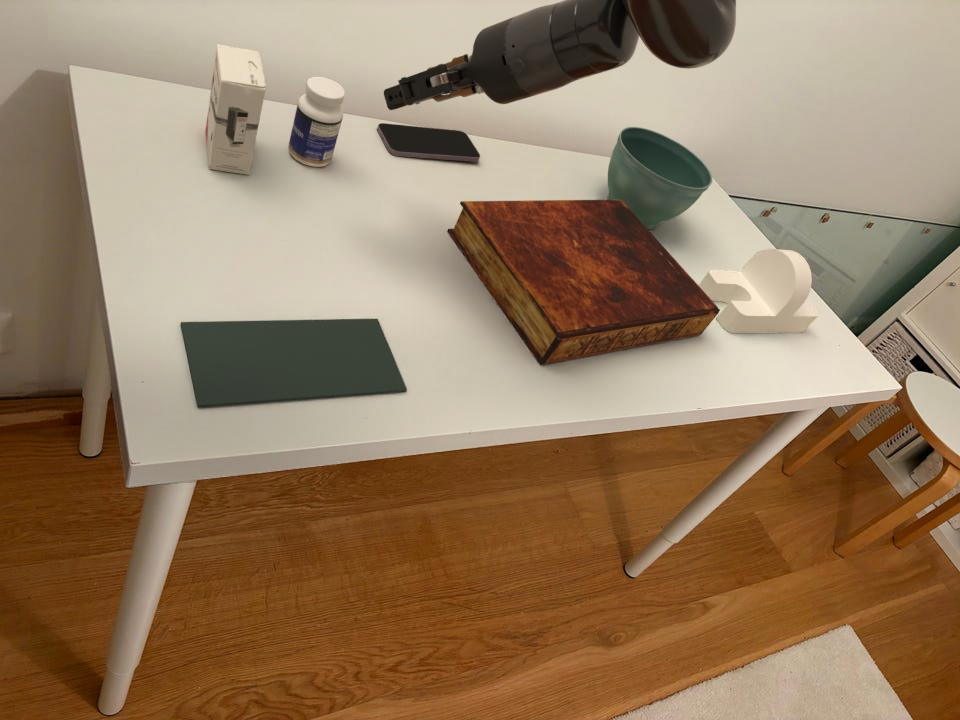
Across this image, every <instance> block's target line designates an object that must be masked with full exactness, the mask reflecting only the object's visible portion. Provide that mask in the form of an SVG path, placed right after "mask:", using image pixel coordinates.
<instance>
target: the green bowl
mask: <svg viewBox="0 0 960 720" xmlns="http://www.w3.org/2000/svg"><path fill="white" fill-rule="evenodd" d="M712 184H713V175H712V172H711V171H710V169H709V168H708V166H707V165H706V164H705V163H704V161H703V160H701V158H700V157H698V155H696V154H695V153H694V152H693V151H691V150H690V149H689V148H687V147H686V146H684V145H683V144H681V143H679V142H678V141H676V140H674V139H672V138H670V137H668V136H666V135H664V134H662V133H660V132H657V131H655V130H652V129H649V128H645V127H641V126H640V127H639V126H628V127H625V128H623V129H621V131H620V132H619V134H618V136H617V140H616V143H615V145H614V147H613V149H612V152H611V156H610V159H609V163H608V167H607V188H608V195H607V199H606V200H618V199H621V200H622V201H623V202H624V203H625V204H626V206H627V207H628V208H629V209H630V210H631V211H632V212H633V213H634V214H635V216H636V217H637V218H638V219H639V220H640V221H641V222H642V223H643V224H644V226H645V227H646V228H647V229H648V230H653V229H655V228H657V227H658V226H659V225H660V224H661V223H664V222H668V221H671V220H672V219H675V218H677V217H678V216H680V215H681V214H683V213H685V212H686V211H687V210H689V209H690V208H691V207H692V206H693V205H694V204H695V203H696V202H697V201H698V200H699V199H700V197H701V196H702V195H703V193H705V191H707V190H708V189H709V188H710V186H711V185H712Z"/></svg>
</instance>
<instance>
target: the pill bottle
mask: <svg viewBox="0 0 960 720" xmlns="http://www.w3.org/2000/svg"><path fill="white" fill-rule="evenodd" d="M304 92H305V93H304V94H302V95H301V96H300V97H299V99H298V101H297V105H296V110H295V113H294V117H293V123H292V127H291V132H290V136H289V141H288V147H287V148H288V152H289V154H290V155H291V157H293V159H295V160H296V161H297V162H298V163H301V164H303V165H306V166H309V167H315V168H316V167H317V168H320V167H325V166H327V165H328V164H330V163H331V162H332V159H333V156H334V151H335V148H336V144H337V141H338V137H339V133H340V129H341V126H342V121H343V119H344V109H343V107H342V104H343V103H344V99H345V94H346V92H345V89H344V88H343V86H342V85H340V84H339V83H338V82H336V81H335V80H332V79H330V78H327V77H323V76H312V77H309V78H308V80H307V81H306V84H305V88H304Z"/></svg>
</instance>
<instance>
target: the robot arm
mask: <svg viewBox="0 0 960 720" xmlns="http://www.w3.org/2000/svg"><path fill="white" fill-rule="evenodd" d="M736 24H737V0H562V1H559V2H556V3H552V4H546V5H543V6H539V7H536V8H532V9H530V10H528V11H525V12H523V13H520V14H517V15H515V16H512V17H509V18H508V19H505V20H502V21H500V22H497V23H494V24H492V25H489V26H486V27H484V28H483V29H481V30H480V31H479V32H478V33H477V34H476V37H475V38H474V41H473V46H472V52H471V55H469V53H466V54H465V53H464V54H462V55H458V56H455V57H453V58H451V59H452V60H450V61H446V62H443V63H439V64H436V65H433V66H429V67H428V68H427V69H426V70H423V71H420V72H418V73H415V74H412V75H410V76H409V75H408V76H407V77H406V76H402V77H400V79H398V80H397V82H398V83H397V84H396V85H393V86H389V87H388V88H385V89H384V90H383V97H384V100H385V104H386V107H387V109H388V110H389V111H395V110H397V109H401V108H404V107H407V106H413V105H414V104H415V105H420V104H421V103H422V102H427V101H429V100H434V101H435V102H437V103H440V102H443V101H447V100H448V101H449V100H451V99H454V98H458V97H462V98H467V97H471V96H474V95H480V94H485V95H486V96H487V97H488V99H490V100H491V101H492V102H494V103H496V104H499V105H508V104H511V103H515V102H518V101H521V100H525V99H528V98H531V97H534V96H538V95H542V94H545V93H548V92H552V91H555V90H558V89H560V88H563V87H565V86H568V85H569V84H571V83H573V82H576V81H578V80H582V79H584V78H589V77H592V76H595V75H599V74H602V73H606V72H608V71H611V70H615V69H618V68H620V67H622V66H625V65H626V64H627V63H628V62H629V61H630V60H631V59H632V58H633V56H634V54H635V52H636V49H637V46H638V43H639V40H640V39H641V41H642V43H643V44H644V46H645V47H646V49H647V50H648V52H650V53H651V54H652V55H653V56H654V57H656V59H658V60H659V61H661V62H662V63H664V64H666V65H669V66H672V67H675V68H678V69H697V68H701V67H704V66H707V65H710V64H711V63H713V62H714V61H716V60H718V59H719V58H720V57H721V56H722V55H724V53H725V52H726V51H727V49H728V48H729V47H730V45H731V43H732V41H733V39H734V35H735V31H736Z"/></svg>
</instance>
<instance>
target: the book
mask: <svg viewBox="0 0 960 720" xmlns="http://www.w3.org/2000/svg"><path fill="white" fill-rule="evenodd" d="M459 205H460V206H461V207H462V209H461V211H460V213H459V216H458V218H457V220H456V223H455V224H454V227H453V228H447V231H446V232H447V234H448V235H449V236H450V237H451V239H452V241H453V242H454V243H455V245H456V246H457V248H458V250H460V252H461V253H462V256H464V258H465V259H466V261H467V262H468V264H469V265H470V267H471V268H472V269H473V271H474V272H475V273H476V275H477V277H478V278H479V279H480V281H481V282H482V284H483V286H485V288H486V290H487V291H488V292H489V294H490V295H491V297H492V298H493V300H494V301H495V303H496V304H497V305H498V307H499V308H500V309H501V311H502V313H503V314H504V315H505V317H506V318H507V319H508V321H509V322H510V325H512V327H513V328H514V329H515V331H516V332H517V334H518V336H519V338H521V340H522V341H523V342H524V344H525V345H526V347H527V349H528V350H529V351H530V353H531V354H532V356H533V357H534V359H535V360H536V362H537V363H539V366H544V365H549V364H553V363H559V362H565V361H569V360H575V359H580V358H586V357H590V356H596V355H602V354H607V353H613V352H617V351H624V350H628V349H633V348H634V349H635V348H638V347H643V346H650V345H653V344H660V343H666V342H671V341H675V340H681V339H685V338H691V337H696V336H700V335H702V334H703V332H704V331H705V330H706V329H707V328H708V327H709V325H710V324H711V323H712V322H713V320H714V319H716V318H717V316H718V315H719V314H720V311H721V309H720V308H719V306H718V305H716V304H715V301H712V300H711V299H710V298H709V297H708V296H707V294H706V293H705V292H704V291H703V290H702V289H701V288H700V287H699V286H698V285H699V283H697V282H696V280H694V279H693V278H692V276H690V275H689V273H688V272H687V271H686V270H685V269H684V267H682V266H681V264H680V263H679V262H678V261H677V260H676V259H675V257H673V255H672V254H671V253H670V251H668V250H667V249H666V247H664V245H663V244H662V243H661V242H660V241H659V240H658V238H656V237H655V235H653V233H652V232H651V231H650V229H647V228H646V227H645V226H644V224H643V223H642V222H641V221H640V220H639V219H638V218H637V217H636V216H635V214H634V213H633V212H632V211H631V210H630V209H629V208H628V207H627V206H626V204H625V203H624V202H623V201H622V200H621V199H618V200H607V199H546V200H544V199H543V200H541V199H540V200H539V199H538V200H461V201H460V202H459Z"/></svg>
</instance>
